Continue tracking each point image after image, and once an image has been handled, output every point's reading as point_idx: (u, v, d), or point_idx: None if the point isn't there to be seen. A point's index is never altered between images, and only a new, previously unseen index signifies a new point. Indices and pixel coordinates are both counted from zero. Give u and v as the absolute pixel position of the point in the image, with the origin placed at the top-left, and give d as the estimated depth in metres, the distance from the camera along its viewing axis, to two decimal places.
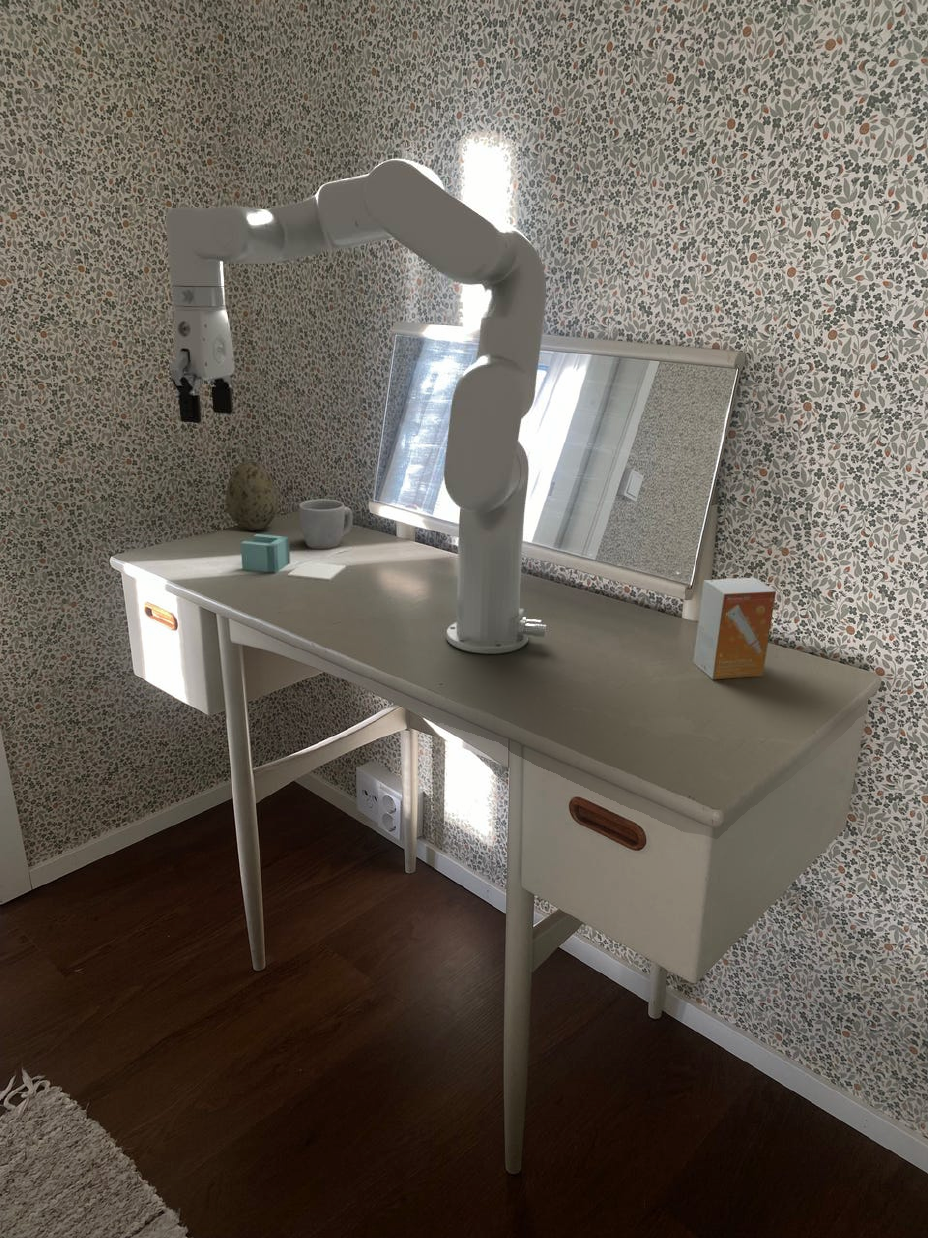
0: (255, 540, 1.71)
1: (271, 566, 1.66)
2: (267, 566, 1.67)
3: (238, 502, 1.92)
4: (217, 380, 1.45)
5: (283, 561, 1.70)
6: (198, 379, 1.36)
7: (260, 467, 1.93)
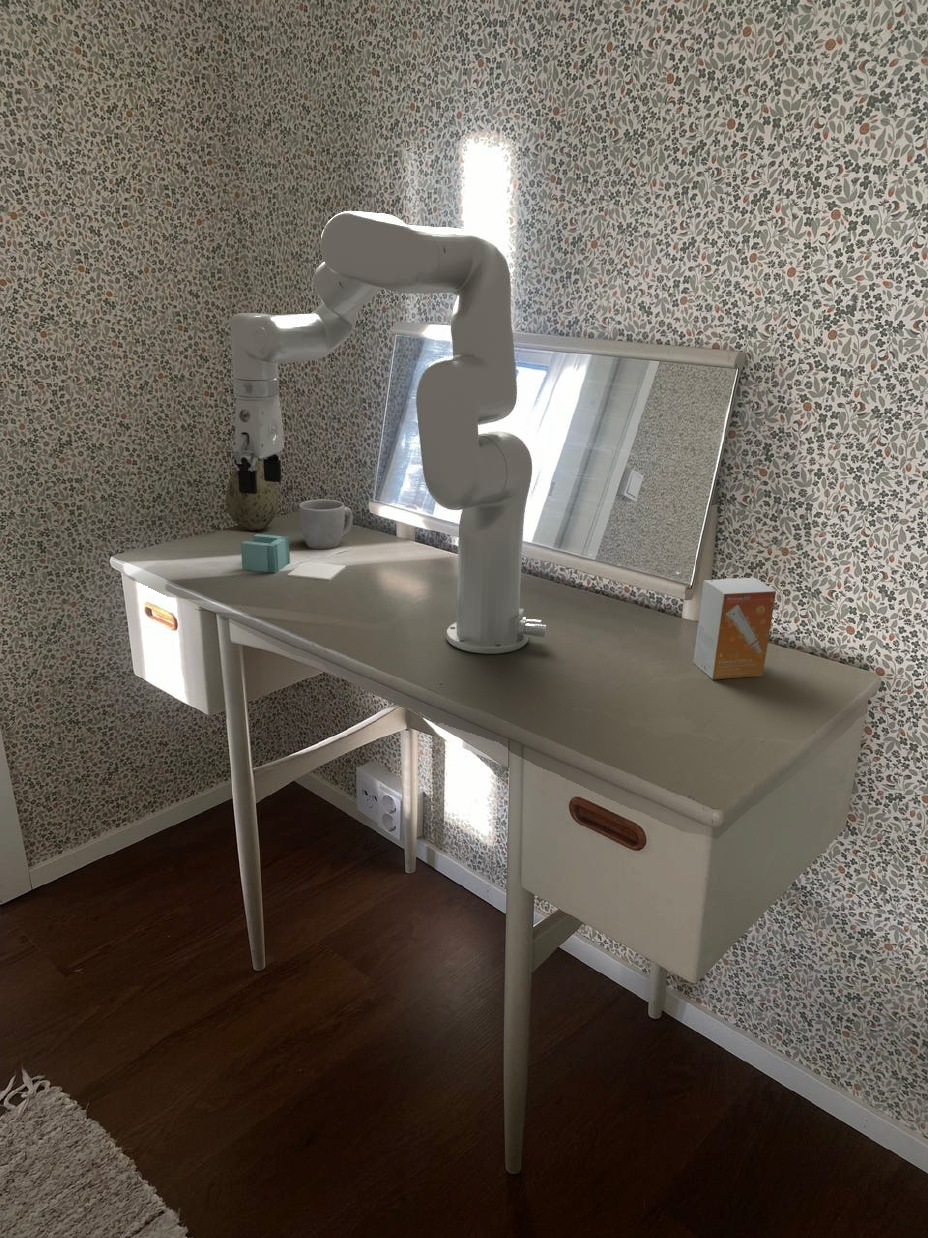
0: (255, 540, 1.71)
1: (271, 566, 1.66)
2: (267, 566, 1.67)
3: (238, 502, 1.92)
4: None
5: (283, 561, 1.70)
6: (255, 457, 1.59)
7: (260, 467, 1.93)
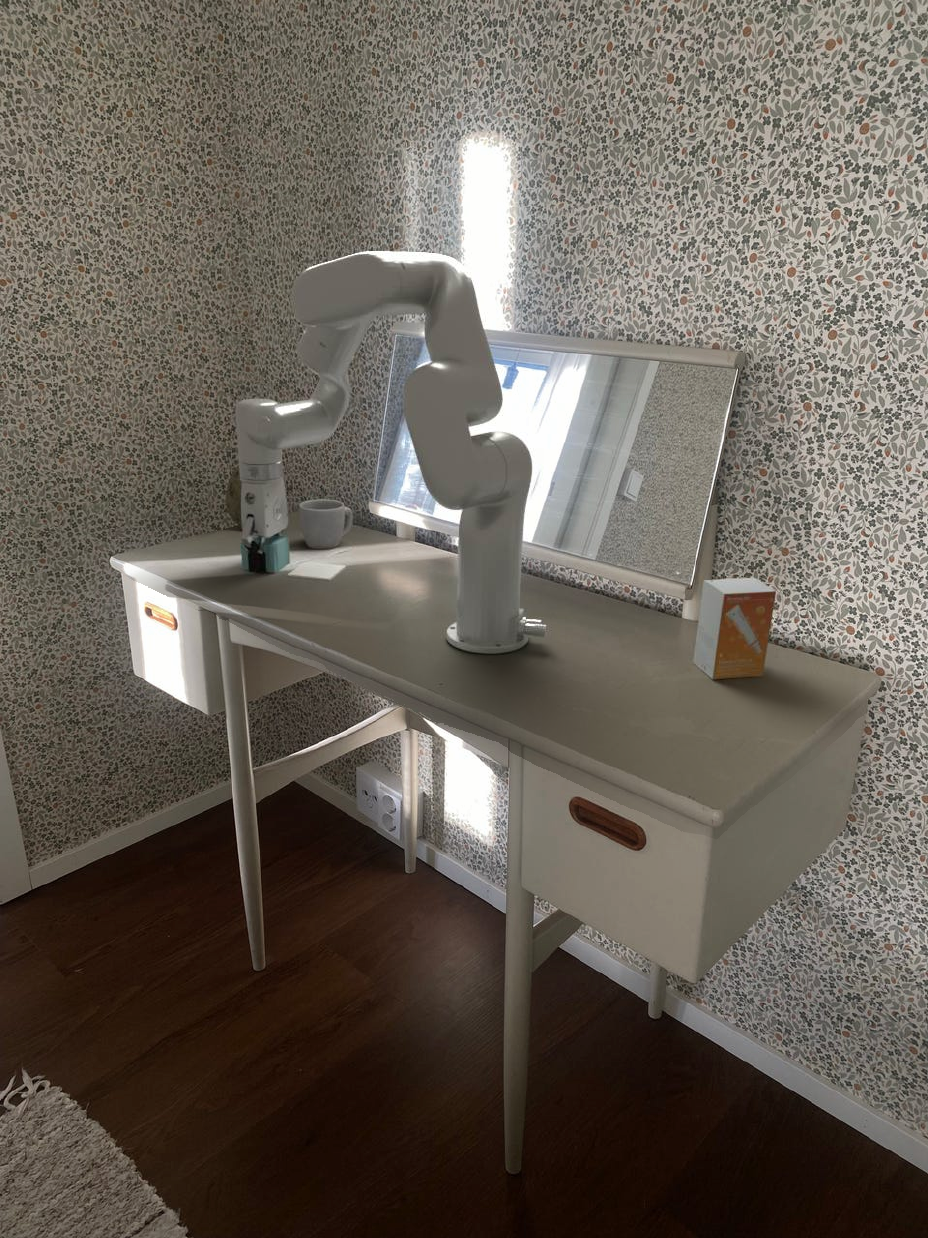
0: (255, 540, 1.71)
1: (271, 566, 1.66)
2: (267, 566, 1.67)
3: (238, 502, 1.92)
4: None
5: (283, 561, 1.70)
6: (263, 539, 1.65)
7: None
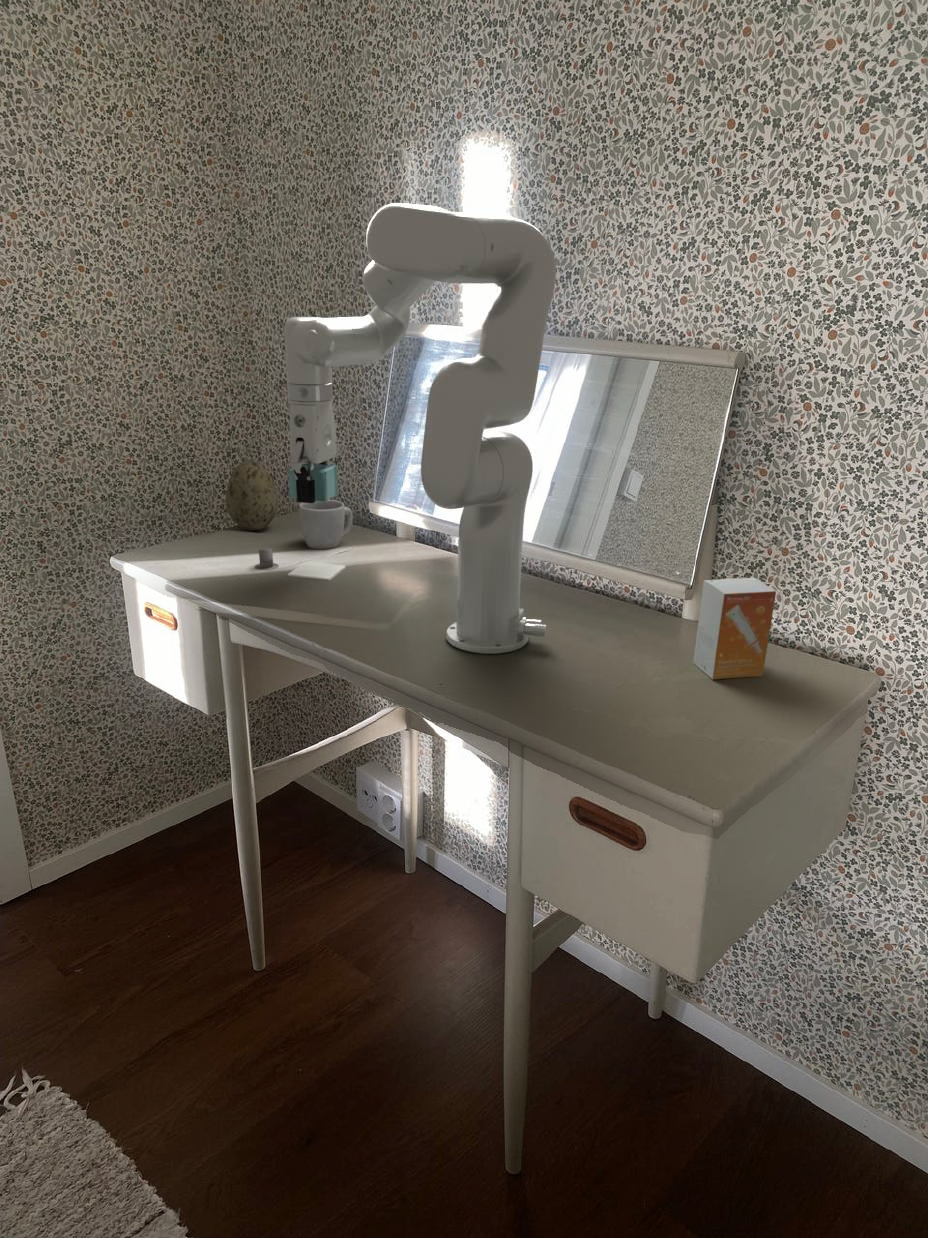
0: None
1: (320, 494, 1.59)
2: (316, 494, 1.59)
3: (238, 502, 1.92)
4: None
5: (332, 490, 1.62)
6: (312, 465, 1.57)
7: (260, 467, 1.93)
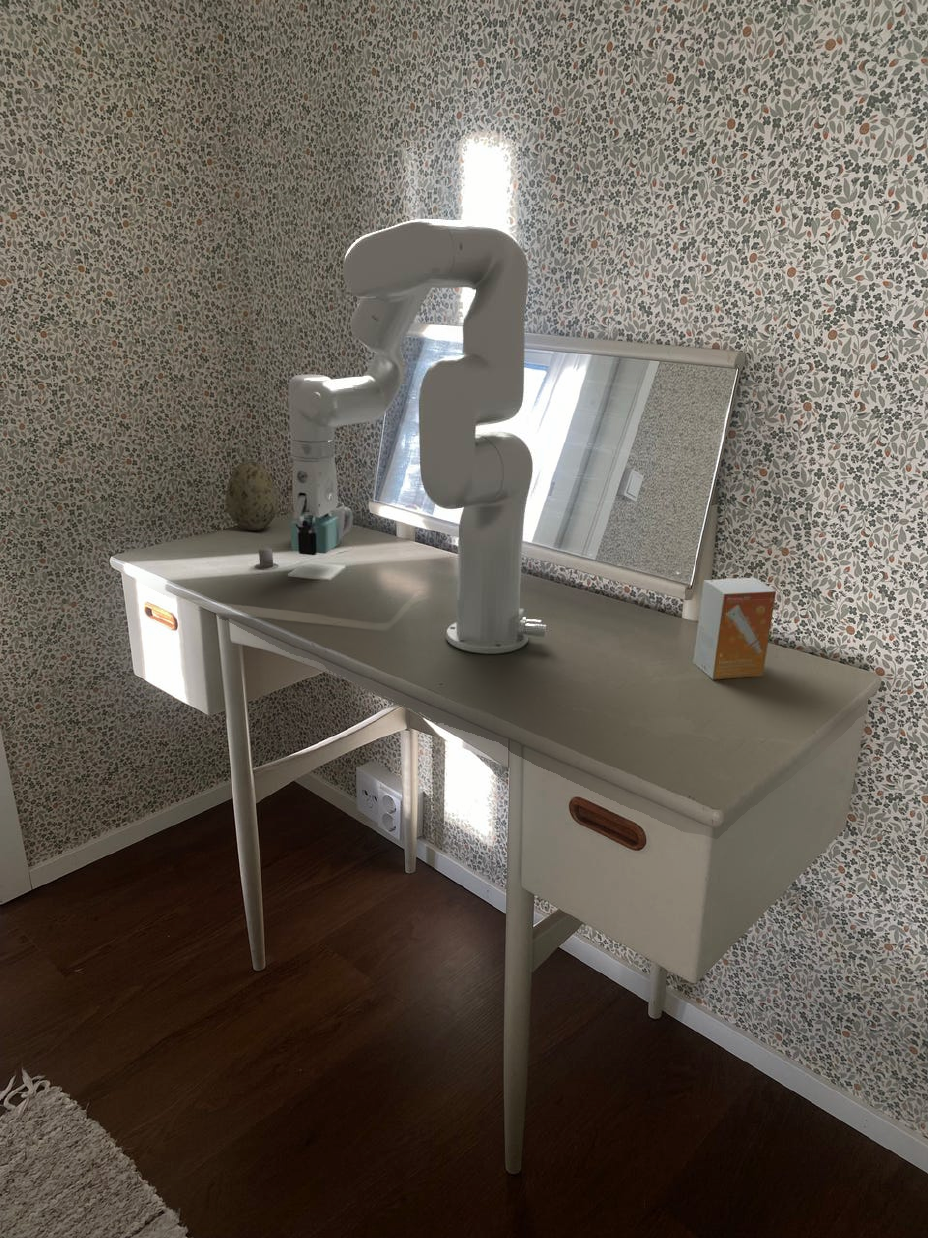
0: None
1: (321, 546, 1.63)
2: (317, 546, 1.63)
3: (238, 502, 1.92)
4: None
5: (333, 542, 1.66)
6: (314, 519, 1.61)
7: (260, 467, 1.93)
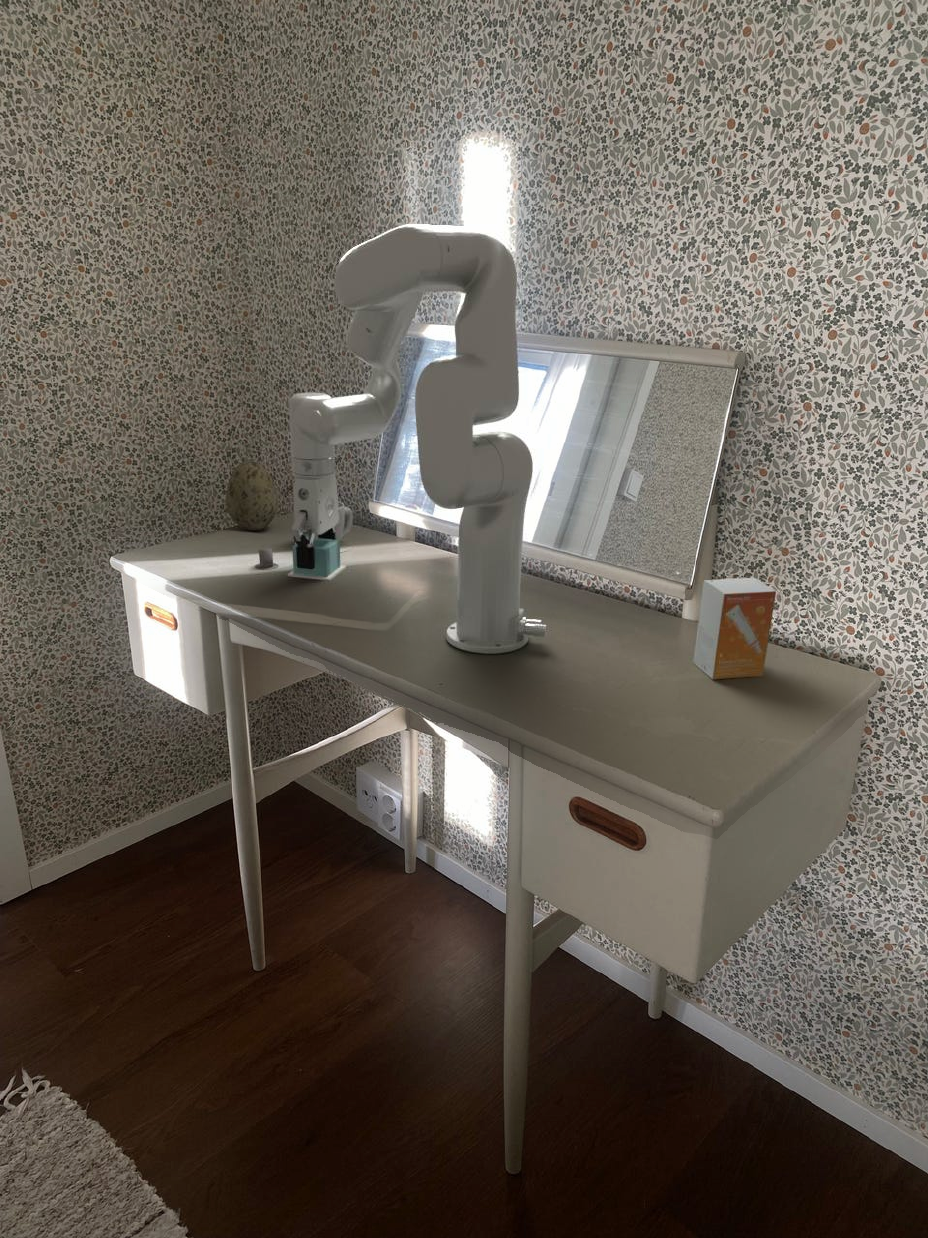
0: None
1: (323, 570, 1.64)
2: (319, 570, 1.64)
3: (238, 502, 1.92)
4: None
5: (334, 565, 1.67)
6: (313, 534, 1.61)
7: (260, 467, 1.93)
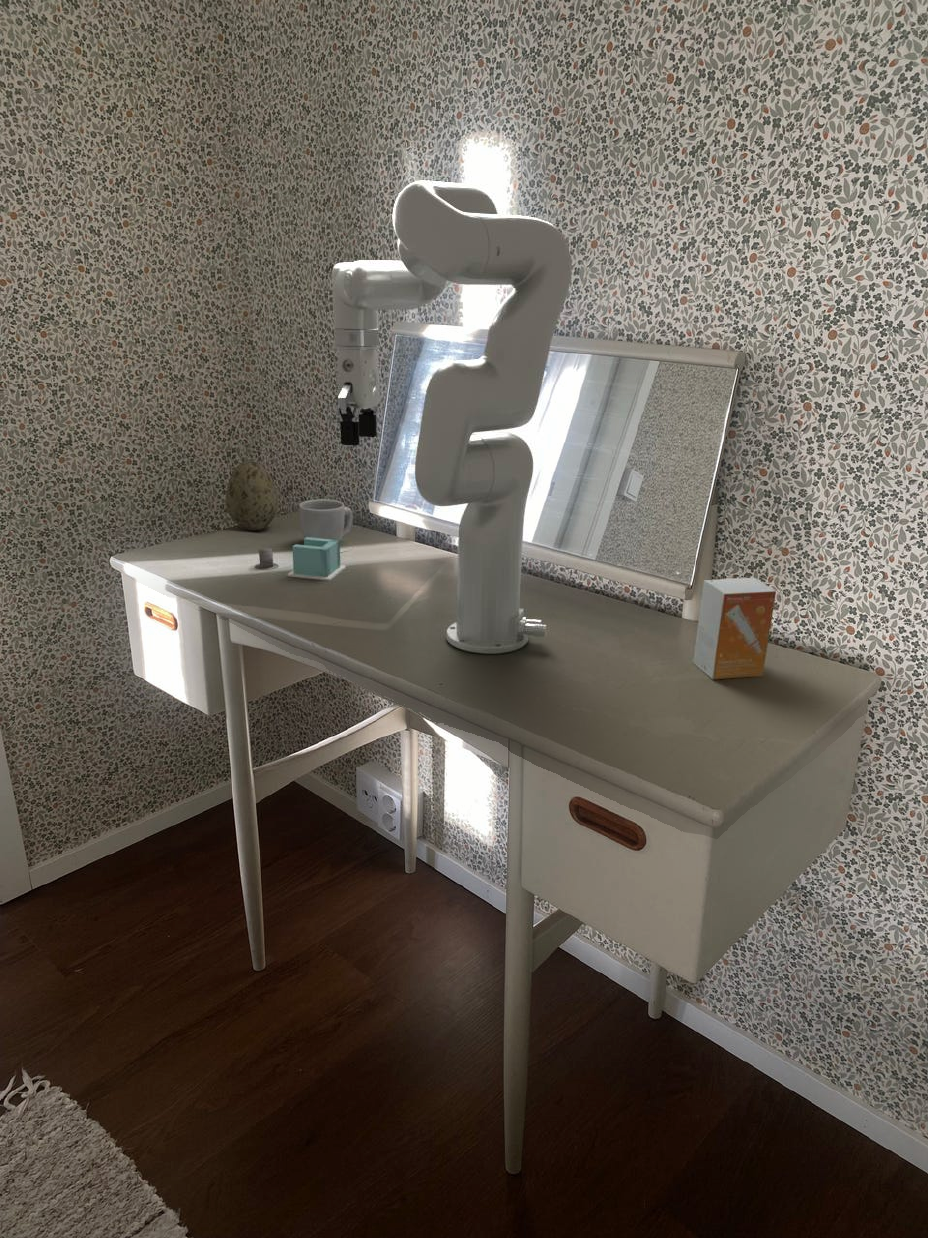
0: (305, 543, 1.69)
1: (323, 570, 1.64)
2: (319, 570, 1.64)
3: (238, 502, 1.92)
4: (363, 408, 1.68)
5: (334, 565, 1.67)
6: (357, 408, 1.58)
7: (260, 467, 1.93)
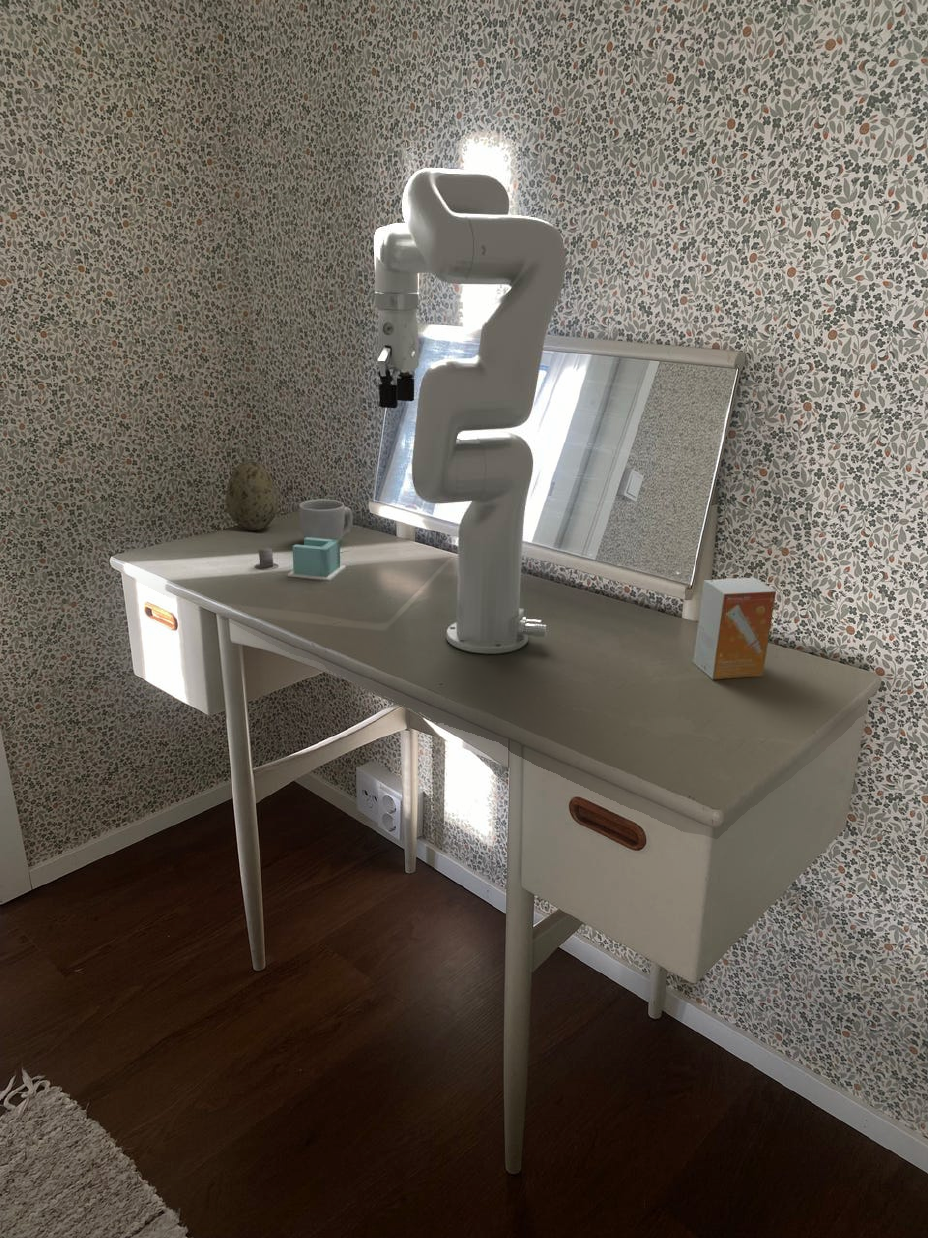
0: (305, 543, 1.69)
1: (323, 570, 1.64)
2: (319, 570, 1.64)
3: (238, 502, 1.92)
4: (402, 372, 1.70)
5: (334, 565, 1.67)
6: (396, 371, 1.61)
7: (260, 467, 1.93)
